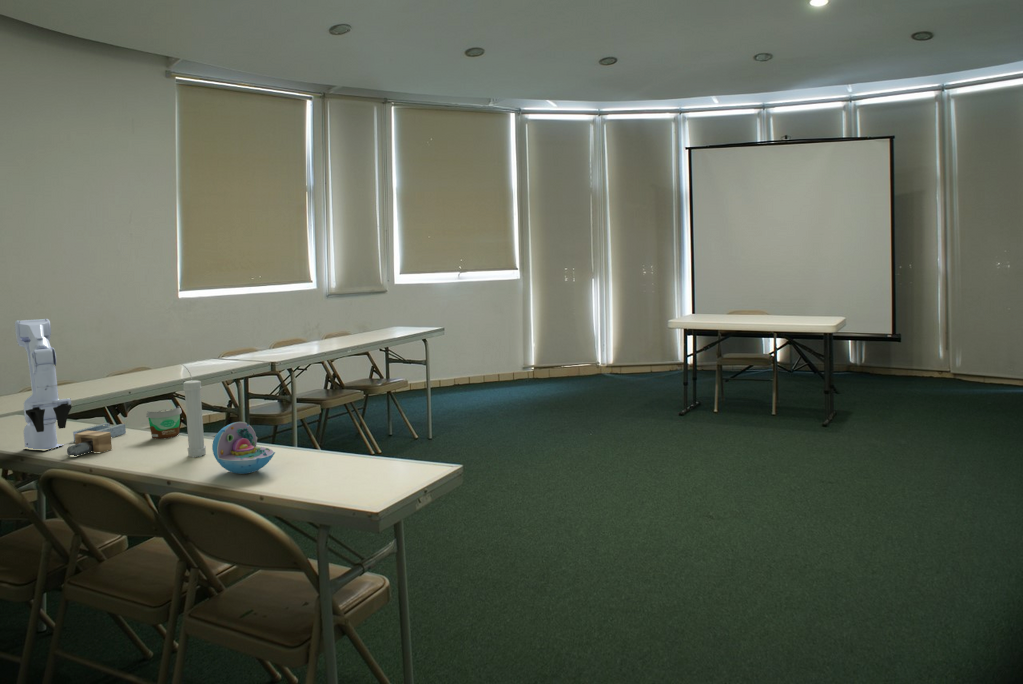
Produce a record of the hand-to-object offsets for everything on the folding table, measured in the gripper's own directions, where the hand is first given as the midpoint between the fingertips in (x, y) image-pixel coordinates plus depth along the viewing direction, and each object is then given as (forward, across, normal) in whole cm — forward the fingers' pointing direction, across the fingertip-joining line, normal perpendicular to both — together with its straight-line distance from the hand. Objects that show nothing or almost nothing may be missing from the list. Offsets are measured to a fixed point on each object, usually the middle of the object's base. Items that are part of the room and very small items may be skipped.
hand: (51, 430), depth 230 cm
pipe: (+14, +21, -36) cm, 43 cm away
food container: (+9, +38, -9) cm, 41 cm away
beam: (+9, +17, +2) cm, 19 cm away
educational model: (+18, +9, -63) cm, 67 cm away
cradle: (+6, +32, +15) cm, 35 cm away
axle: (+10, +14, +2) cm, 17 cm away
